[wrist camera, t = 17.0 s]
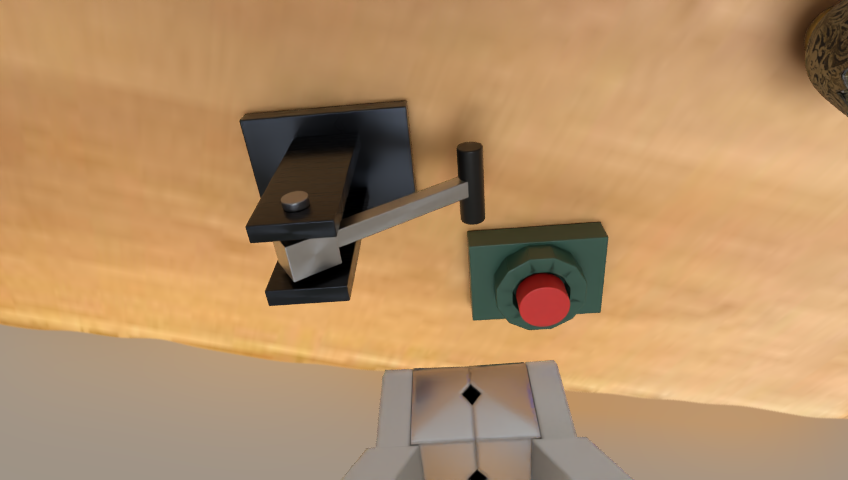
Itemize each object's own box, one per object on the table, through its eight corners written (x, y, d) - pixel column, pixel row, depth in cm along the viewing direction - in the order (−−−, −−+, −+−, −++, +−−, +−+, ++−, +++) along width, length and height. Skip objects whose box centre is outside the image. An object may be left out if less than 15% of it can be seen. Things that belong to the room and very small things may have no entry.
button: (515, 313, 42) (519, 328, 40) (515, 274, 40) (519, 289, 38) (564, 310, 42) (569, 325, 40) (566, 270, 40) (571, 285, 38)
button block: (471, 303, 46) (474, 336, 42) (467, 231, 42) (470, 260, 39) (593, 295, 45) (607, 328, 42) (600, 221, 42) (615, 251, 38)
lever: (468, 137, 34) (492, 148, 33) (471, 207, 37) (494, 221, 35) (263, 205, 29) (278, 223, 27) (284, 282, 32) (299, 303, 30)
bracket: (406, 99, 37) (397, 187, 26) (418, 205, 41) (414, 318, 30) (244, 113, 37) (169, 204, 27) (271, 216, 42) (217, 331, 31)
